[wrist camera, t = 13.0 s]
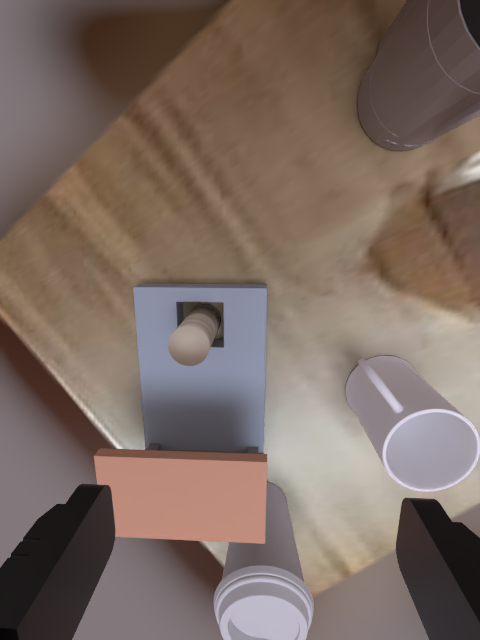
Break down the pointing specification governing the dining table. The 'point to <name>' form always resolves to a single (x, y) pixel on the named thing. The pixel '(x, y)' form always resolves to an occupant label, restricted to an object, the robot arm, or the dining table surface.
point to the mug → (411, 425)
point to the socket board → (195, 424)
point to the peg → (195, 335)
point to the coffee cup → (265, 583)
